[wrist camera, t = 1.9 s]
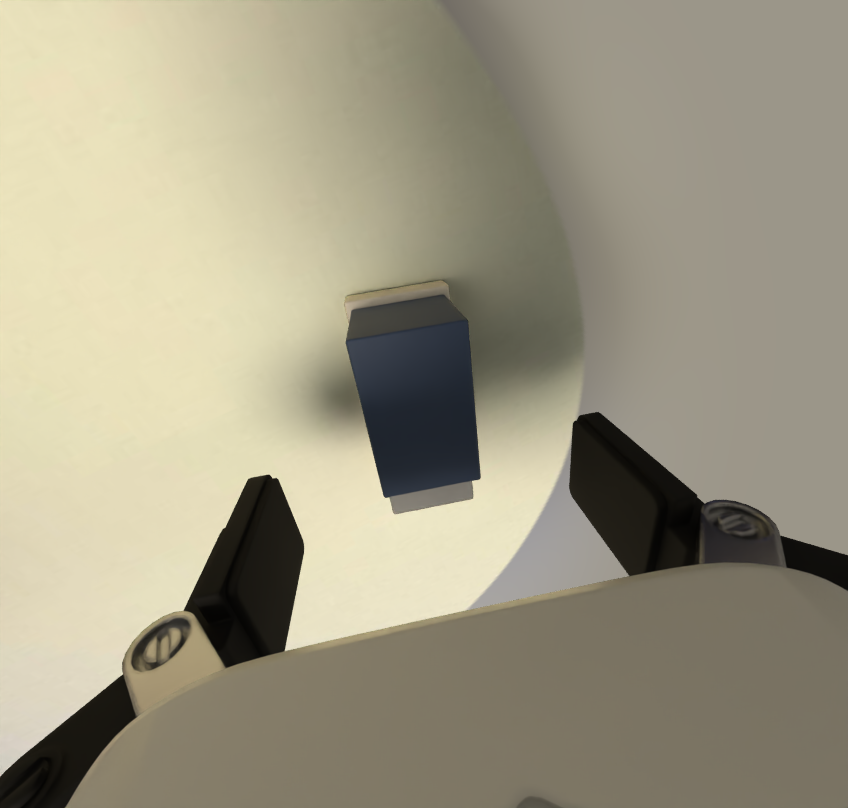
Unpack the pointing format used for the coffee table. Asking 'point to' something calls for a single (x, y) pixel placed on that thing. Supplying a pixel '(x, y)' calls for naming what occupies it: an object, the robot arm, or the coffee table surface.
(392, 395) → the stacked block assembly
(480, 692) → the robot arm
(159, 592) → the coffee table surface
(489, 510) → the coffee table surface
